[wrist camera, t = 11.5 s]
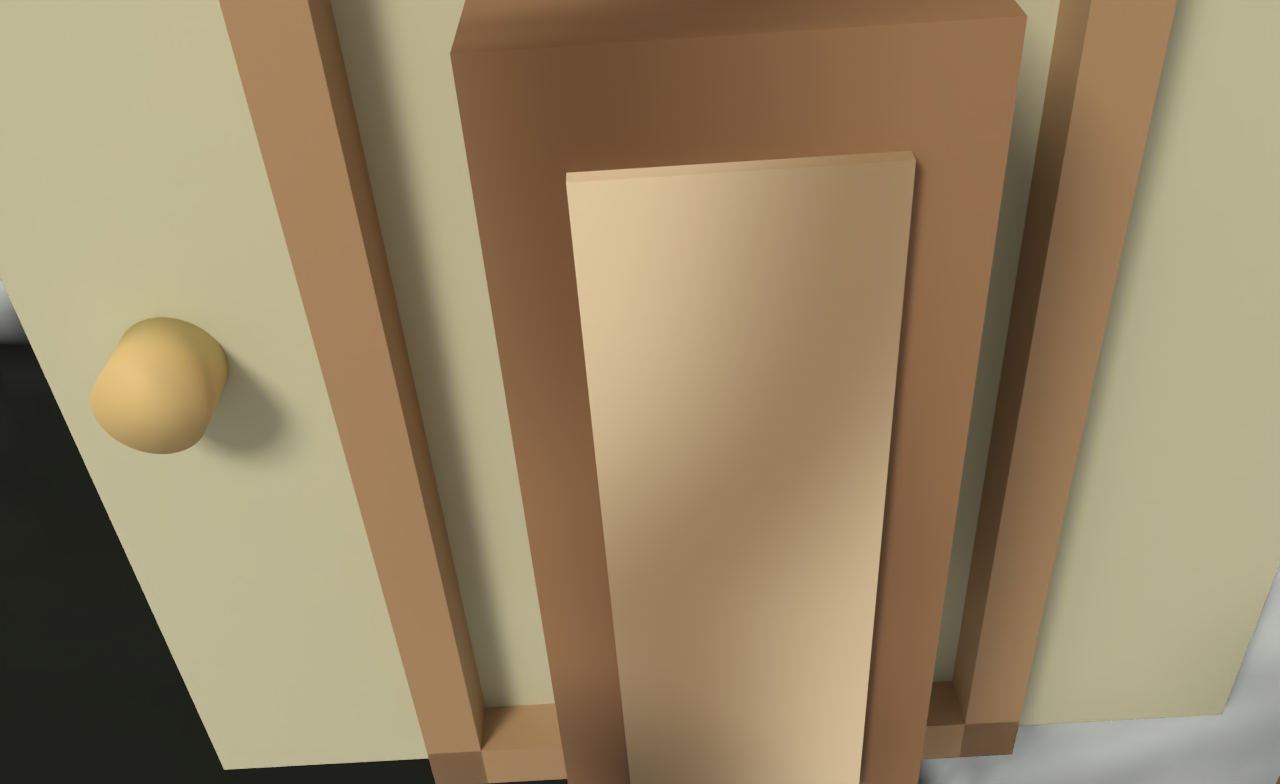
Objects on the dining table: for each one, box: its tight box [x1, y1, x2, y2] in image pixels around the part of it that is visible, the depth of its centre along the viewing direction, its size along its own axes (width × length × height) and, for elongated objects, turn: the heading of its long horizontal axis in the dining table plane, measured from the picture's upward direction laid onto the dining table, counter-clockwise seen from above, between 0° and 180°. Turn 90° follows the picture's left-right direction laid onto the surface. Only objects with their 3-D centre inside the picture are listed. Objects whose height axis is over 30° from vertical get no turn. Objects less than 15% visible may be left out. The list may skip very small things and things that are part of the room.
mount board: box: [0, 0, 1280, 784], centre depth 17 cm, size 20×20×2 cm
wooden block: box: [450, 0, 1027, 784], centre depth 15 cm, size 5×12×5 cm, turn 3°
